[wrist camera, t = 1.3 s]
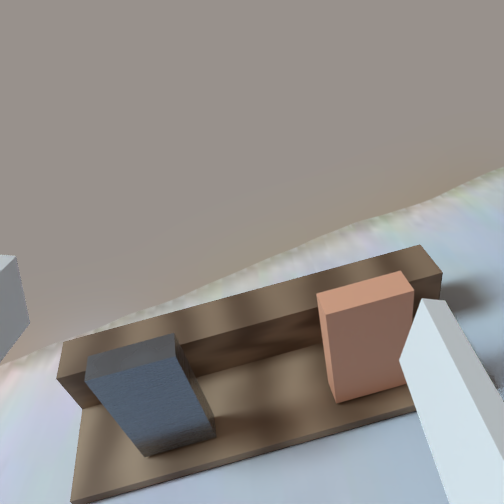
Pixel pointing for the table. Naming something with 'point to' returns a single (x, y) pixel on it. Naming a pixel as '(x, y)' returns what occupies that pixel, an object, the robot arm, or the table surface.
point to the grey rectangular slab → (152, 394)
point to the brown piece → (238, 377)
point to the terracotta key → (365, 334)
